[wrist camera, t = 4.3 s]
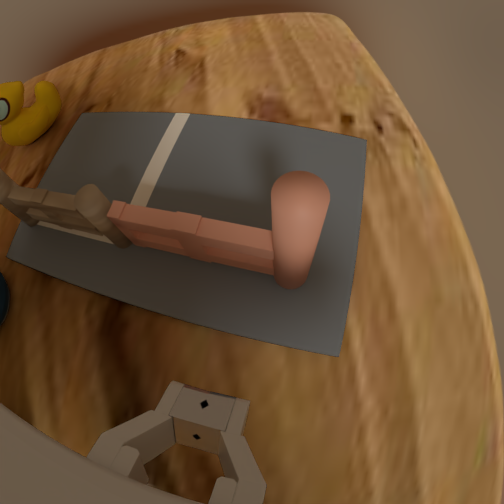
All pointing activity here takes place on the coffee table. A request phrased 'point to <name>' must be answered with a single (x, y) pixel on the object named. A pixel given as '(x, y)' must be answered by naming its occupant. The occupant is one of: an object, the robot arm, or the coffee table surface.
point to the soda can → (4, 299)
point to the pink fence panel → (240, 231)
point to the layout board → (208, 206)
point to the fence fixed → (62, 209)
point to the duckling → (27, 112)
